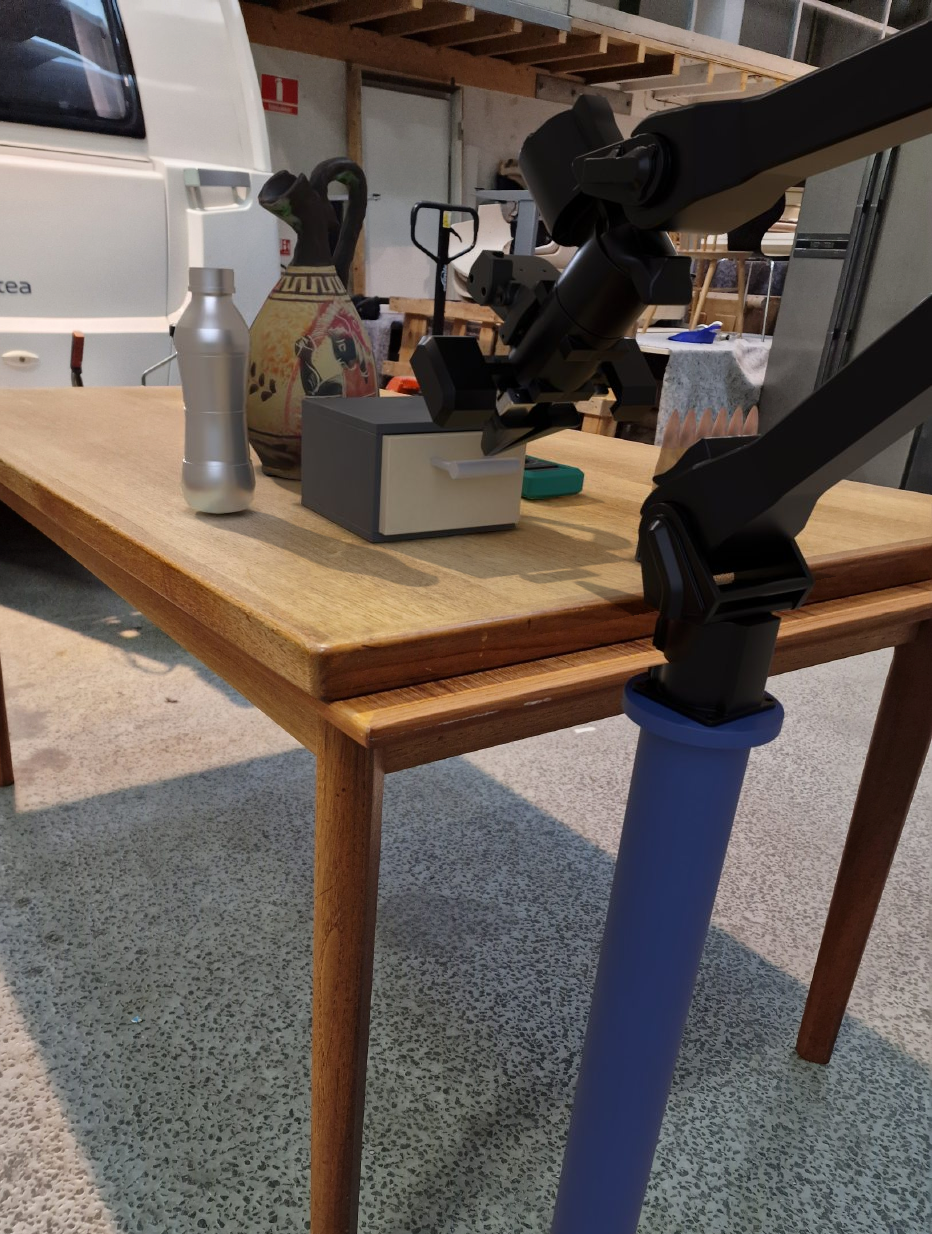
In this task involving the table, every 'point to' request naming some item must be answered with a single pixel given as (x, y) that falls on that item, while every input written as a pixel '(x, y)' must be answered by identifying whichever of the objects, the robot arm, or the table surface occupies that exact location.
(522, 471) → the drawer
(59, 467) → the table surface
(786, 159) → the robot arm
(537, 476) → the digital multimeter
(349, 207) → the ceramic jug
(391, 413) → the cabinet
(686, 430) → the ammunition clip
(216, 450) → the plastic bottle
